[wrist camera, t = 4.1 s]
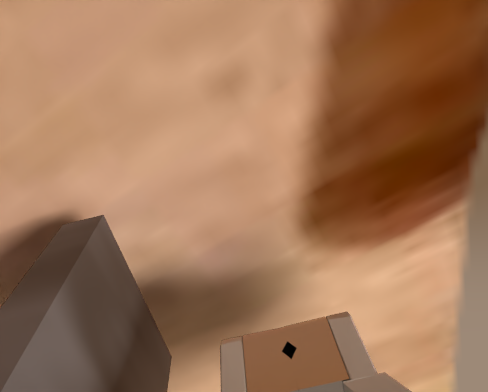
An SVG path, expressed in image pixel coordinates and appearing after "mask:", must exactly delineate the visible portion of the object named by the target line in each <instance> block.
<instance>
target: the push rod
mask: <svg viewBox="0 0 488 392" xmlns="http://www.w3.org/2000/svg"><path fill="white" fill-rule="evenodd" d="M171 358H172V357H171V355H170V353H169V351H168V348H167V346H166V344H165V342H164V340H163V338H162V336H161V334H160V332H159V330H158V328H157V326H156V323H155V321H154V319H153V317H152V315H151V313H150V311H149V309H148V307H147V305H146V303H145V301H144V298H143V296H142V294H141V292H140V290H139V288H138V286H137V284H136V282H135V280H134V278H133V276H132V273H131V271H130V269H129V267H128V265H127V263H126V261H125V259H124V257H123V255H122V253H121V251H120V248H119V246H118V244H117V242H116V240H115V238H114V236H113V234H112V232H111V230H110V228H109V226H108V223H107V221H106V219H105V217H104V215H101V216H97V217H93V218H88V219H84V220H80V221H76V222H72V223H68V224H64V225H62V227H61V228H60V229H59V231H58V232H57V233H56V235H55V236H54V237H53V239H52V240H51V241H50V243H49V244H48V245H47V247H46V248H45V249H44V251H43V252H42V253H41V255H40V256H39V257H38V259H37V260H36V261H35V263H34V264H33V265H32V267H31V268H30V269H29V271H28V272H27V273H26V275H25V276H24V277H23V279H22V280H21V281H20V283H19V284H18V285H17V287H16V288H15V289H14V291H13V292H12V293H11V295H10V296H9V297H8V299H7V300H6V301H5V303H4V304H3V305H2V307H1V308H0V392H167V388H168V381H169V373H170V365H171Z"/></svg>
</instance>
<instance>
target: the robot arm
mask: <svg viewBox="0 0 488 392" xmlns="http://www.w3.org/2000/svg"><path fill="white" fill-rule="evenodd" d="M220 365H221V392H412V391H410V390H409V389H407V388H406V387H405V386H403V385H402V384H400V383H399V382H398V381H396V380H395V379H393V378H392V377H391V376H389V375H388V374H386V373H385V372H384V373H379V374H378V373H377V371H376V369H375V367H374V365H373V363H372V361H371V358H370V356H369V354H368V352H367V350H366V348H365V345H364V343H363V341H362V339H361V337H360V335H359V333H358V330H357V328H356V326H355V324H354V322H353V320H352V318H351V315H350V314H349V313H348V312H343V313H339V314H334V315H330V316H326V317H321V318H317V319H313V320H309V321H304V322H300V323H296V324H292V325H288V326H284V327H282V328H277V329H272V330H267V331H262V332H257V333H252V334H247V335H243V336H239V337H234V338H229V339H224V340H222V341H221V346H220Z"/></svg>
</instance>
